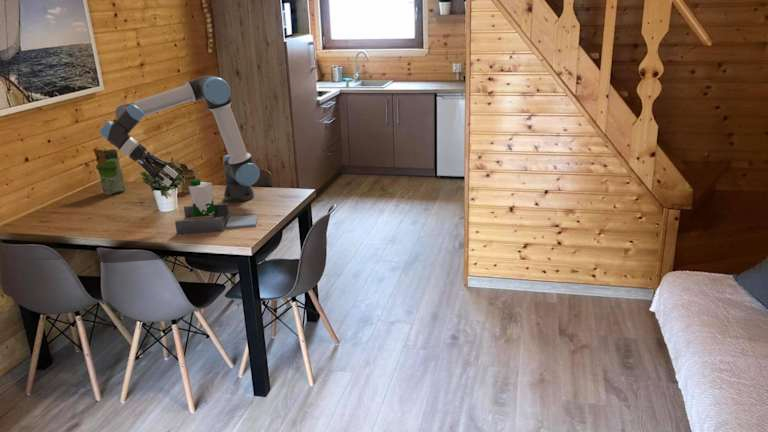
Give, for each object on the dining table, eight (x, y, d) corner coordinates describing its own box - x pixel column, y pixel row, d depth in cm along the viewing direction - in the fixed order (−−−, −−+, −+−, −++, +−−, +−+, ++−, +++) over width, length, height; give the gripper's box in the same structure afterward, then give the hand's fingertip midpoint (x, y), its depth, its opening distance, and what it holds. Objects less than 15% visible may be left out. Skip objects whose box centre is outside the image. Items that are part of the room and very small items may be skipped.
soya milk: (200, 218, 298) (195, 177, 292) (218, 218, 296) (213, 177, 290) (191, 224, 290) (185, 182, 283) (210, 225, 288) (204, 183, 282)
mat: (229, 218, 296) (229, 216, 295) (258, 216, 297) (257, 214, 296) (226, 228, 283) (226, 226, 283) (255, 226, 285) (255, 224, 284)
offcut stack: (185, 227, 287) (183, 217, 285) (221, 224, 288) (220, 214, 287) (182, 232, 281) (181, 221, 280) (219, 229, 283) (218, 219, 281)
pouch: (127, 193, 343) (119, 147, 334) (103, 197, 337) (95, 151, 328) (123, 188, 352) (115, 144, 343) (100, 192, 346) (91, 147, 337)
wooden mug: (180, 187, 349) (175, 155, 343) (202, 188, 346) (198, 156, 340) (171, 192, 341) (166, 160, 335) (194, 193, 338) (189, 160, 332)
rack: (186, 218, 299) (184, 206, 297) (229, 215, 301) (227, 203, 299) (177, 234, 278) (175, 221, 276) (223, 231, 280) (221, 218, 278)
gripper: (135, 149, 291) (173, 179, 297) (120, 162, 268) (162, 194, 274) (145, 137, 290) (183, 167, 296) (131, 149, 266) (173, 181, 273)
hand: (173, 180), depth 285 cm, fingers open, 13 cm apart
